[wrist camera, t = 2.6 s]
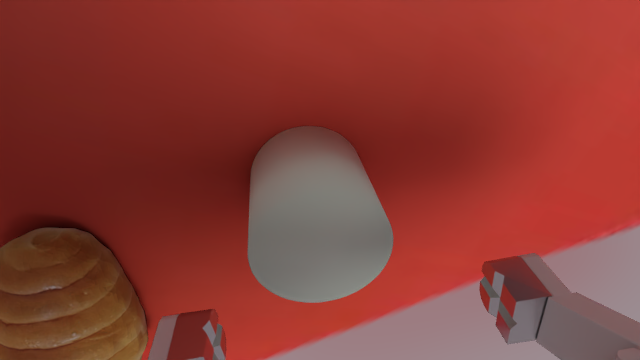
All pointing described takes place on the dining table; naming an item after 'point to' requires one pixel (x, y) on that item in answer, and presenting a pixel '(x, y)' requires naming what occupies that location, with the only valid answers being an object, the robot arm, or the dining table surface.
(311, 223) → the grey round cylinder
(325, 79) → the dining table surface
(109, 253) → the pastry
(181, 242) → the dining table surface
